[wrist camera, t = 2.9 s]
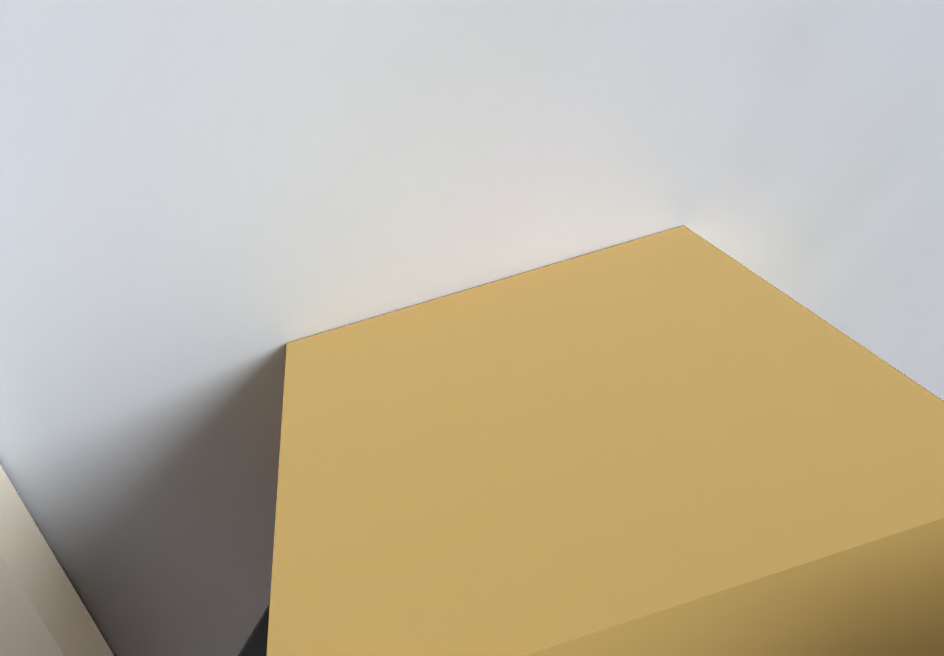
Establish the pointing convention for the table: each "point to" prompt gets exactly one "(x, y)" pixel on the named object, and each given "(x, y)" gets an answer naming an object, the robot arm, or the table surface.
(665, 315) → the ochre brick
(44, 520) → the table surface
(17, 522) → the building board
